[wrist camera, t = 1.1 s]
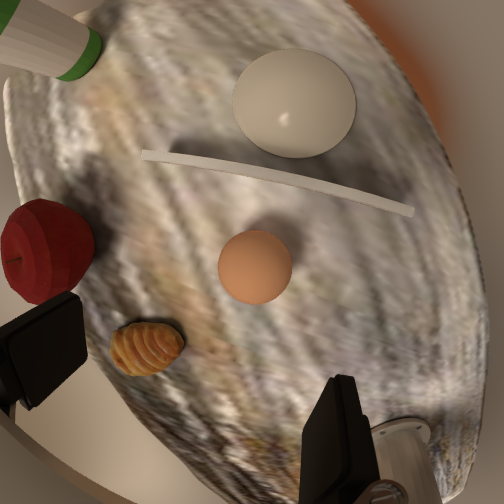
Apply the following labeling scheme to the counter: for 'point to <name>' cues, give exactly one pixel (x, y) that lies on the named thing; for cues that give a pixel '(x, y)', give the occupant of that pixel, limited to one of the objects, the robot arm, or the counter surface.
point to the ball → (255, 267)
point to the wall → (280, 179)
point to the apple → (45, 250)
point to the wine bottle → (45, 40)
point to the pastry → (145, 348)
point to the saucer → (294, 103)
